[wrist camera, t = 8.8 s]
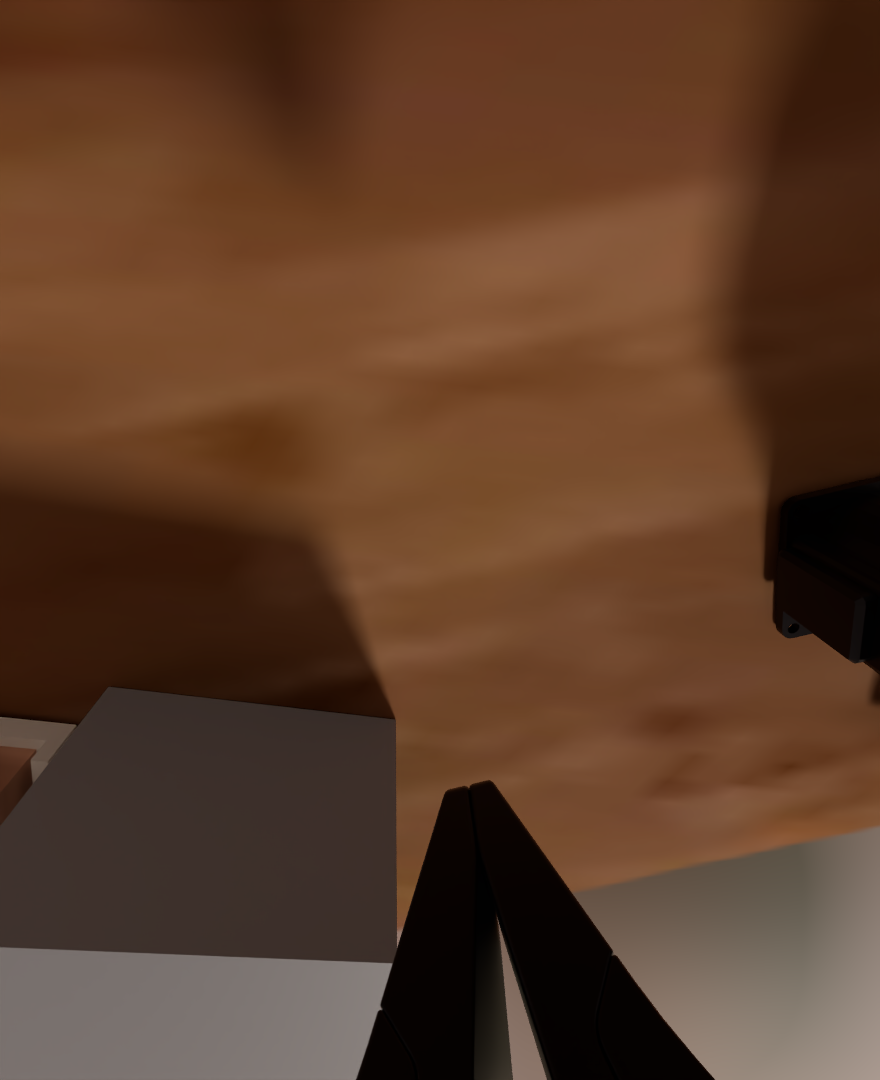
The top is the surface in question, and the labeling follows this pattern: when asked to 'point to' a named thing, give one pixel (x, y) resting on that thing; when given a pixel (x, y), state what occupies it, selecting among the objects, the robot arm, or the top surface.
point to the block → (14, 777)
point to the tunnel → (200, 894)
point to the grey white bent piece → (35, 739)
